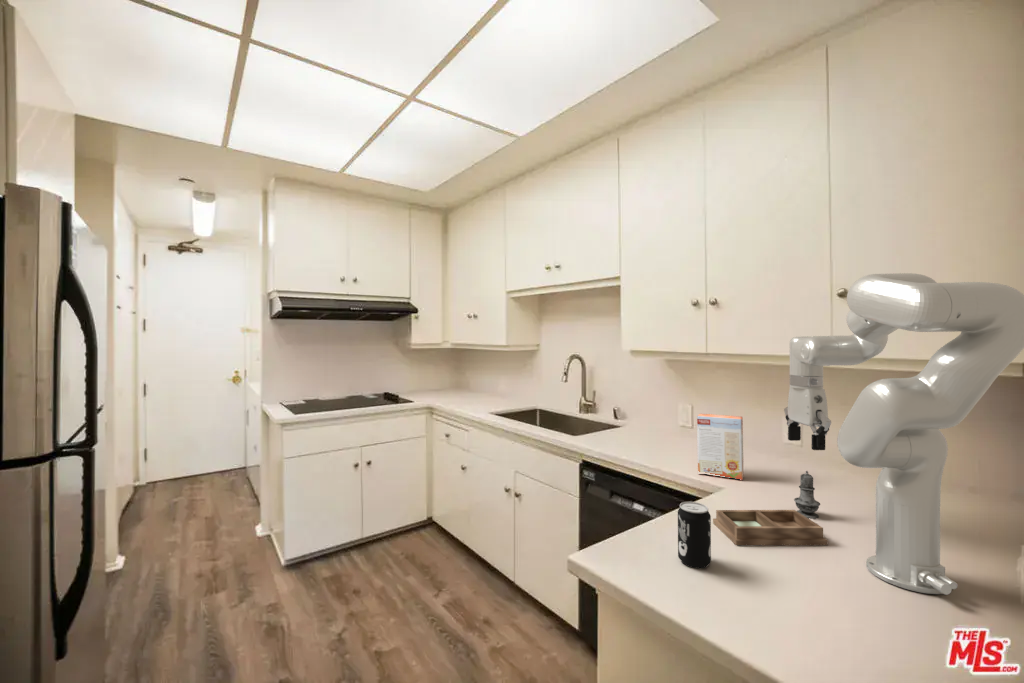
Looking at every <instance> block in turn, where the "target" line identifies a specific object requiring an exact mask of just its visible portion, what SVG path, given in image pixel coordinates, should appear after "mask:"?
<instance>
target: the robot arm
mask: <svg viewBox="0 0 1024 683" xmlns="http://www.w3.org/2000/svg"><path fill="white" fill-rule="evenodd" d="M846 304H847V306H848V308H849V311H848V312H847V315H846V318H845V319H846V324H847V326H848V327H847V328H849V330H850V331H851V332H852V333H853V334H851V335H818V336H817V335H815V336H814V335H813V336H812V335H811V336H794V337H791V338H790V341H789V390H788V398H787V407H785V408H783V411H784V415H785V420H786V425H787V439H788V441H792V442H793V441H801V440H802V439H801V438H802V437H801V436H802V435H801V434H802V433H801V432H802V431H801V430H802V428H801V425H804V426H807V427H810V430H811V431H812V434H811V450H813V451H825V450H826V436H827V435H828V432H829V431H830V426H831V424H832V420H831V419H830V418H829V412H828V411H829V410H828V400H827V395H826V390H825V388H824V367H825V366H826V367H828V366H829V367H830V366H855V365H856V366H857V365H859V364H863V363H865V362H867V361H869V360H871V359H872V358H874V357H876V356H878V355H879V354H881V353H882V352H883V351H884V349H885V348H886V346H887V343H888V340H889V339H888V338H889V335H890V334H892V333H894V332H895V331H897V330H898V329H900V330H903V331H908V332H915V333H916V332H917V333H941V332H943V333H944V332H945V333H947V332H949V333H950V332H951V333H952V332H954V333H957V332H960V334H959V335H957V336H956V337H955V338H954V339H952V340H950V341H948V342H947V343H945V344H944V345H943V346H941V347H940V348H939V349H937V351H935V352H934V353H933V354H932V356H931V357H930V358H929V360H928V362H927V364H926V365H925V366H924V368H923V369H922V370H921V371H920V372H919V373H918V374H917V375H914V376H912V377H899V378H897V377H892V378H891V377H890V378H881V379H877V380H876V381H873V382H870V383H869V384H868V385H866V387H864V388H863V389H862V390H861V392H860V393H859V395H858V397H857V398H856V400H855V401H854V403H853V405H852V407H851V408H850V410H849V412H848V413H847V415H846V417H844V418H845V419H844V421H843V422H842V424H841V426H840V427H839V431H838V434H837V441H836V442H837V448H838V452H839V453H840V456H841V457H842V458H843V460H845V461H846V462H847V463H849V464H851V465H852V466H855V467H858V468H862V469H863V468H864V469H881V471H880V472H879V473H878V476H877V480H876V482H875V555H871V556H869V557H868V558H866V561H865V564H866V568H867V570H868V571H869V572H870V573H871V574H873V575H874V576H876V577H877V578H879V579H880V580H882V581H884V582H886V583H888V584H891V585H894V586H896V587H899V588H901V589H905V590H908V591H912V592H916V593H920V594H928V595H947V596H948V595H950V594H951V593H952V590H956V589H957V588H958V582H956V581H954V580H953V579H950V578H949V577H948V576H947V575H946V566H944V565H942V564H941V491H942V490H941V487H942V477H943V473H944V470H945V465H946V462H947V458H948V451H949V447H948V446H949V445H948V442H947V438H946V437H945V435H944V434H943V432H942V431H941V430H945V429H949V428H954V427H956V426H958V425H959V424H960V423H962V422H963V420H964V419H965V418H967V416H968V415H969V414H970V412H971V411H972V410H973V408H975V406H976V404H977V403H978V402H979V401H980V400H981V399H982V397H983V396H984V395H985V393H986V392H987V391H988V390H989V389H990V387H991V385H993V383H994V382H995V380H997V379H998V376H1000V374H1001V373H1002V372H1003V371H1005V369H1006V368H1007V367H1009V365H1010V364H1011V363H1012V362H1013V361H1014V360H1015V359H1016V358H1018V356H1019V355H1020V353H1021V352H1023V350H1024V293H1022V292H1021V291H1020V290H1019V289H1017V288H1014V287H1012V286H1009V285H1007V284H1001V283H996V282H986V281H984V282H983V281H966V282H965V281H961V282H960V281H959V282H957V281H954V282H937V281H936V280H935V279H933V278H932V277H929V276H927V275H924V274H919V273H912V272H911V273H908V272H907V273H905V272H904V273H901V272H900V273H872V274H867V275H865V276H864V275H863V276H862V277H860V278H858V279H857V280H856V281H855V282H853V283H852V284H851V286H850V287H849V289H848V291H847V294H846ZM800 424H801V425H800Z"/></svg>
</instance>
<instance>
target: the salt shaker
mask: <svg viewBox="0 0 1024 683" xmlns="http://www.w3.org/2000/svg"><path fill="white" fill-rule="evenodd" d="M798 488H799V489H800V490H799V492H800V493H799V496H798V497H795V498H794V499H793V500H794V502H795V506H796V508H797V509H798V510H796V511H797V512H799V513H800V514H802V515H804V516H805V517H807V518H808V519H809V518H810V520H816V518H817V519H819V518H820V515H819V514H818V513H816V512H817V511H819V510H818V509H819V508H820V506H821V503H820V502H819V501H818V500H816V499H815V496H814V494H815V492H814V491H815V490H816V488H815V487H814V476H812V475H811V474H809V471H808V470H806V471H805V473H802V474H801V475H800V485H799V486H798Z"/></svg>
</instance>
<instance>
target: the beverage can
mask: <svg viewBox="0 0 1024 683" xmlns="http://www.w3.org/2000/svg"><path fill="white" fill-rule="evenodd" d="M711 517H712V516H711V514H710V512H709V507H708V506H707V505H706V504H703V503H700V502H696V501H682V502H681V503H680V504H679V508H678V510H677V556H678V559H679V560H680V561H681V563H682V564H684V565H685V566H688V567H691V568H694V569H705V568H707V567H708V566H709V565H710V564H711V563H712V534H711V533H712V532H711V531H712V530H711V529H712V526H711V524H712V518H711Z"/></svg>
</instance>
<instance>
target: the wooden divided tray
mask: <svg viewBox="0 0 1024 683" xmlns="http://www.w3.org/2000/svg"><path fill="white" fill-rule="evenodd" d="M797 511H798V510H795V509H716V510H715V513H716V515H715V516H716V517H715V518H712V523H713V525H714V526H716V527H717V528H718V530H720V532H722V534H724V536H726V537H727V538H728V539H729V540H730V541H731V542H732V543H733V544H734V545H735V546H736V545H762V546H829V543H828V541H829V540H828V539H827V538H826V537H824V527H823V526H821V525H819V524H818V523H816V522H815V521H813V520H812V519H809V518H807V517H805V516H804V515H802V514H800V513H799V512H797Z"/></svg>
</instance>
